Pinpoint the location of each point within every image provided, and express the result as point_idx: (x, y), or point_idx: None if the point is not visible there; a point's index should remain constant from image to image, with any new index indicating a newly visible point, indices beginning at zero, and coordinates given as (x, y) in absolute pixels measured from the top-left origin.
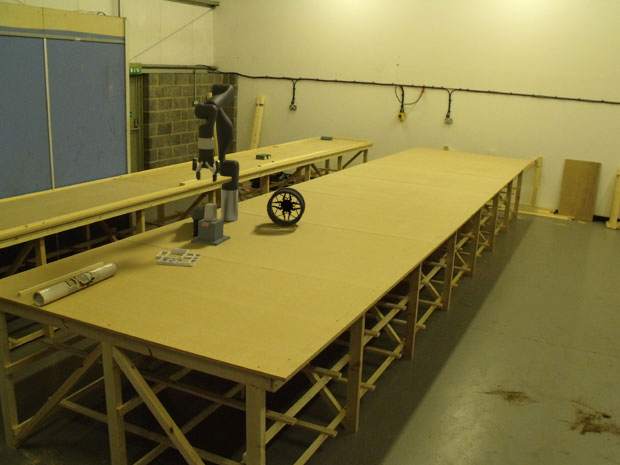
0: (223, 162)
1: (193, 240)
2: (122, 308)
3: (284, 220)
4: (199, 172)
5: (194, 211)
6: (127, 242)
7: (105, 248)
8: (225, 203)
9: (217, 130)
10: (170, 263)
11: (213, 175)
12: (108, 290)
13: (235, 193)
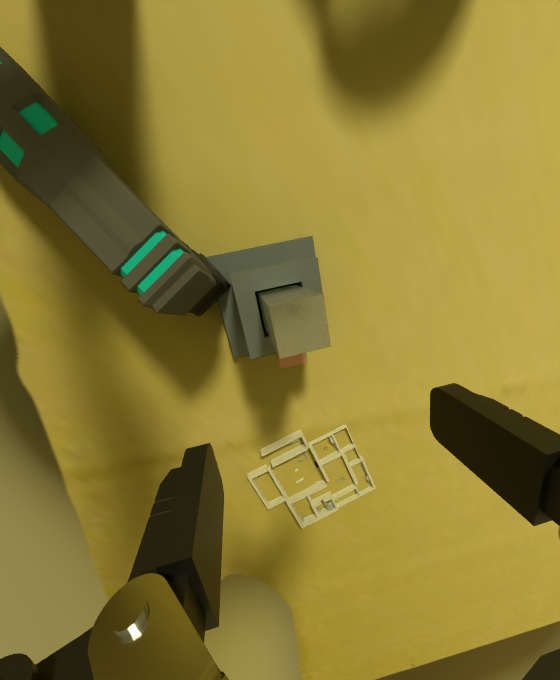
0: None
1: (242, 355)
2: (394, 641)
3: None
4: (205, 584)
5: (166, 311)
6: (93, 485)
7: (103, 548)
8: None
9: None
10: (328, 511)
11: (532, 504)
12: (329, 632)
13: None
